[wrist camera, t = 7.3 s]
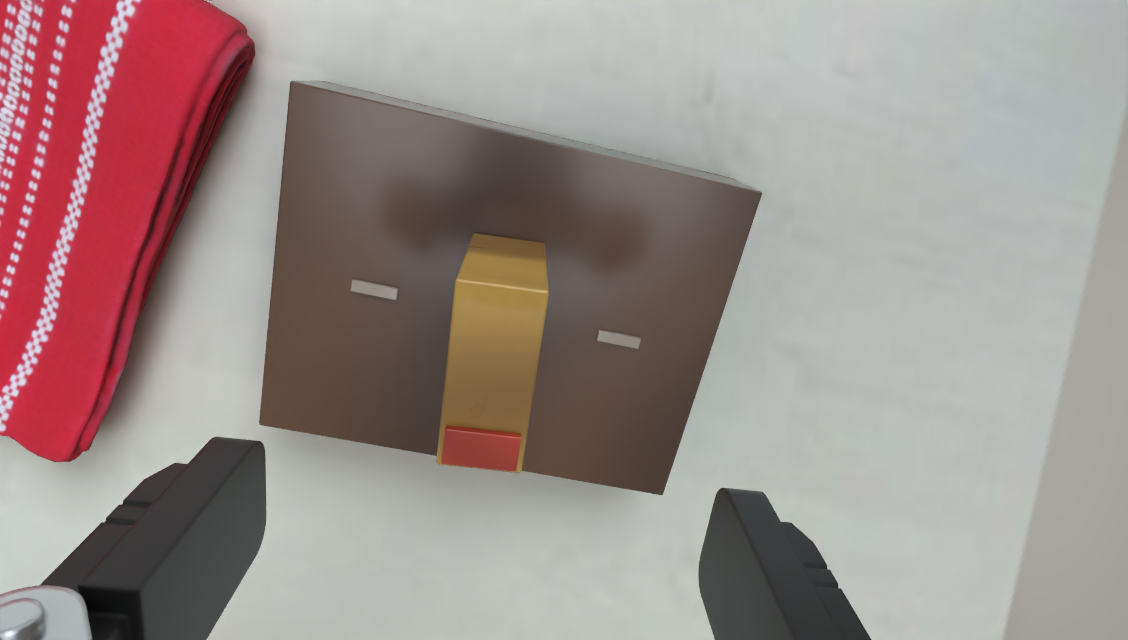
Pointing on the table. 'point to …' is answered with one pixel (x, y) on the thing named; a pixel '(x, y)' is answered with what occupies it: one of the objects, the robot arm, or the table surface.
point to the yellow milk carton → (493, 353)
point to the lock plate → (433, 259)
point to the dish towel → (95, 189)
